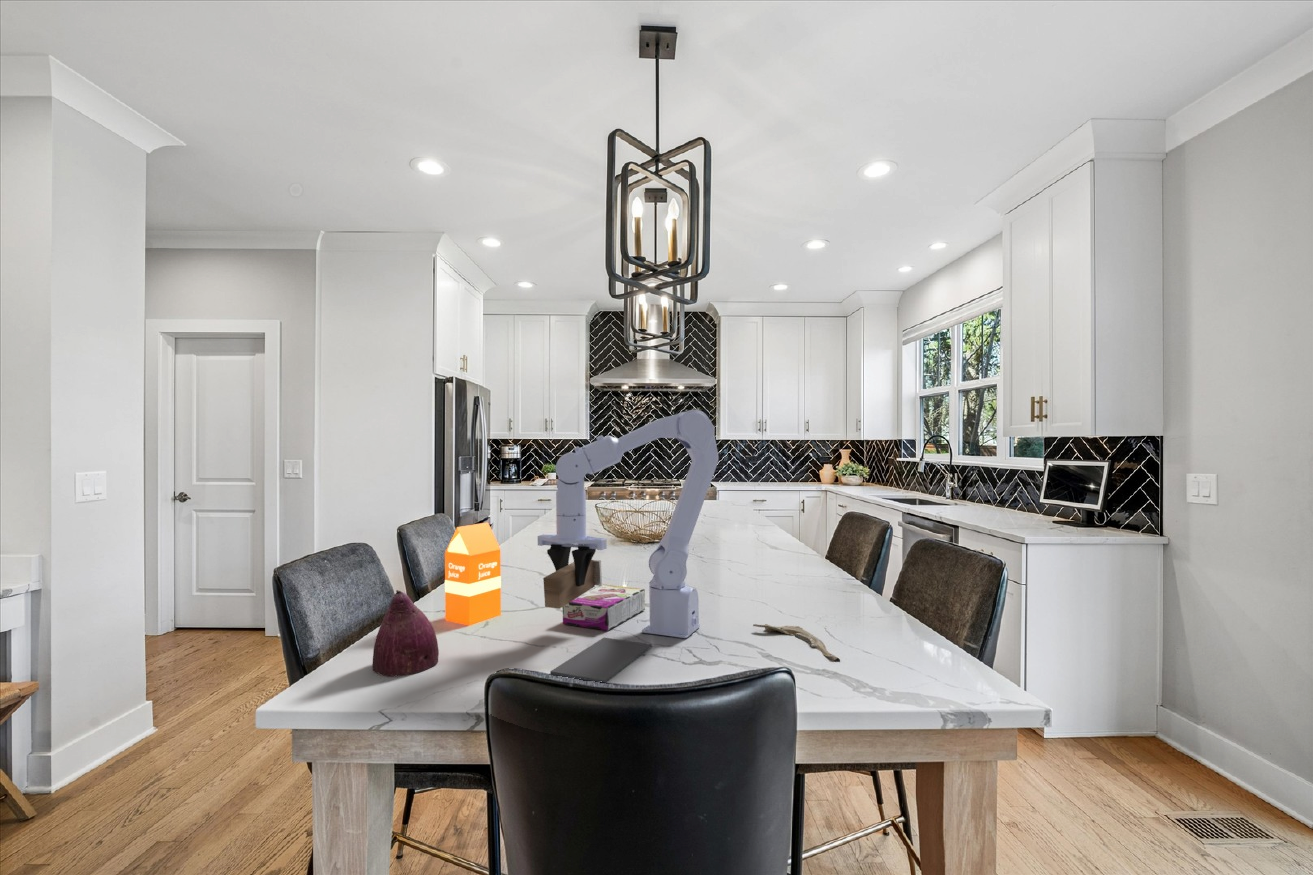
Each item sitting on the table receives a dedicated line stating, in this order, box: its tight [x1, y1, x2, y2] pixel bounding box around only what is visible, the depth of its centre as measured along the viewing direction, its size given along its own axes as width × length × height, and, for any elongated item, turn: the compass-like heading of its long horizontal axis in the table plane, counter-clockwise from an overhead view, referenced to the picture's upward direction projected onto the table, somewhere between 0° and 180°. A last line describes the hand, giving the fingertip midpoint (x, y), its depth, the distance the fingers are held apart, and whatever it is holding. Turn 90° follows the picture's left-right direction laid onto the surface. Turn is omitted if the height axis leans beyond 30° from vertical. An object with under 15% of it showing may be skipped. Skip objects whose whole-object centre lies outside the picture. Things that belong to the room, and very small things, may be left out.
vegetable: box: [371, 589, 440, 678], centre depth 101 cm, size 10×10×15 cm
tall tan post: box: [542, 559, 603, 609], centre depth 117 cm, size 14×6×6 cm, turn 156°
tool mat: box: [549, 637, 653, 683], centre depth 104 cm, size 10×18×1 cm, turn 156°
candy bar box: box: [562, 583, 646, 631], centre depth 129 cm, size 11×5×16 cm
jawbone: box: [752, 623, 841, 662], centre depth 112 cm, size 9×20×2 cm, turn 35°
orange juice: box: [444, 522, 502, 626], centre depth 129 cm, size 8×9×20 cm
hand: (571, 584), depth 117 cm, fingers closed on tall tan post, 3 cm apart
